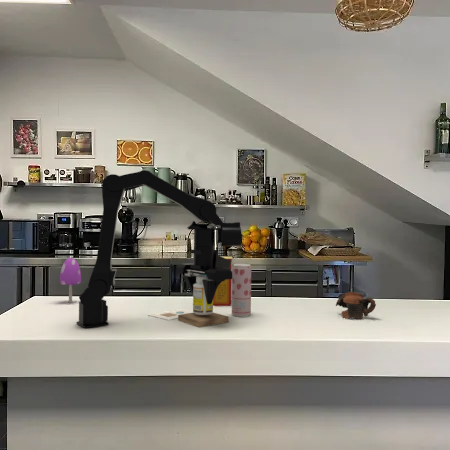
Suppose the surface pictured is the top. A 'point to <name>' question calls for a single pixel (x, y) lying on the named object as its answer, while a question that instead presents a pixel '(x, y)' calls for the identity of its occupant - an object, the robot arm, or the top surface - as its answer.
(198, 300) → the supplement bottle
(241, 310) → the beverage can
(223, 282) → the baking soda box
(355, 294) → the pottery mug
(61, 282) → the toy
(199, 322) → the base brick
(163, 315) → the page
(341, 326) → the top surface
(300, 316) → the top surface
